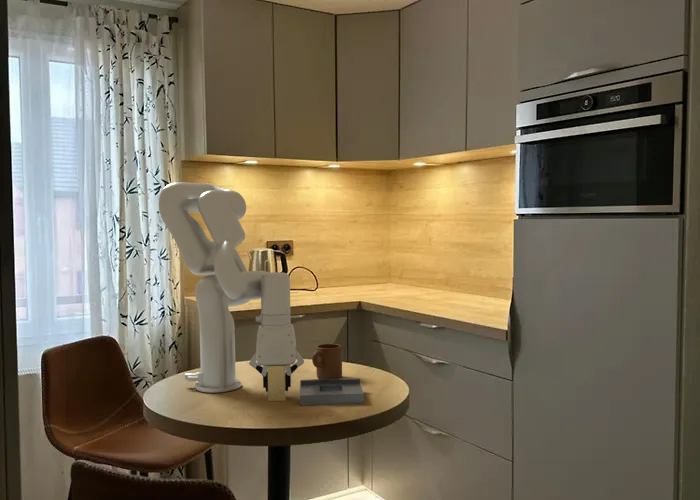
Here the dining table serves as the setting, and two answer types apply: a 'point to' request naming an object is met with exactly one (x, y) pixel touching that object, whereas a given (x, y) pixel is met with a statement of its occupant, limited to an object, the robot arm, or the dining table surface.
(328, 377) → the mug
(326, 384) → the jig
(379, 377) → the dining table surface
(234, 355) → the robot arm
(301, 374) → the dining table surface
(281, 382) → the tan cardboard box
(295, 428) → the dining table surface
